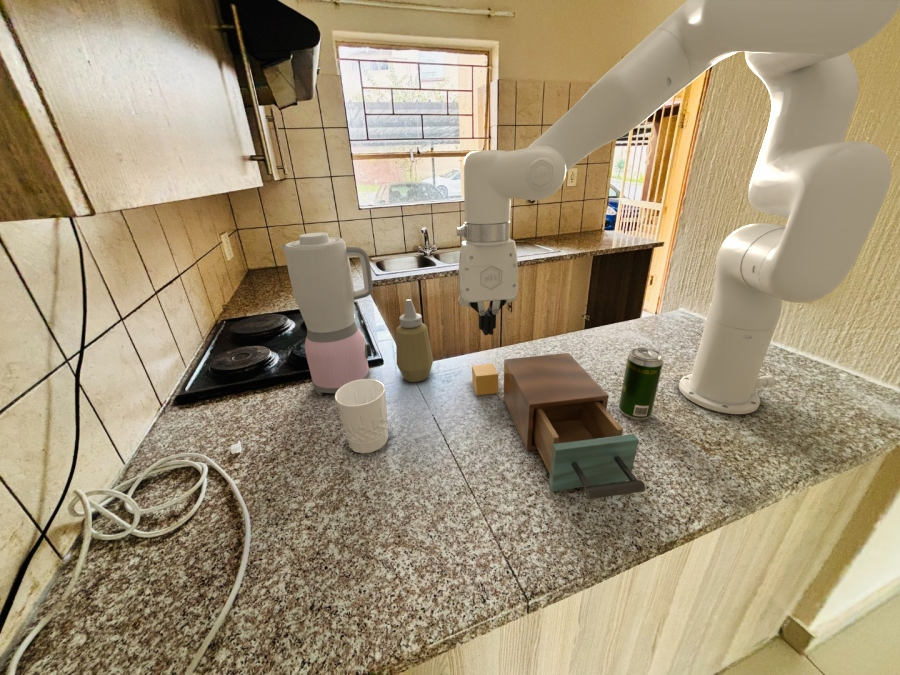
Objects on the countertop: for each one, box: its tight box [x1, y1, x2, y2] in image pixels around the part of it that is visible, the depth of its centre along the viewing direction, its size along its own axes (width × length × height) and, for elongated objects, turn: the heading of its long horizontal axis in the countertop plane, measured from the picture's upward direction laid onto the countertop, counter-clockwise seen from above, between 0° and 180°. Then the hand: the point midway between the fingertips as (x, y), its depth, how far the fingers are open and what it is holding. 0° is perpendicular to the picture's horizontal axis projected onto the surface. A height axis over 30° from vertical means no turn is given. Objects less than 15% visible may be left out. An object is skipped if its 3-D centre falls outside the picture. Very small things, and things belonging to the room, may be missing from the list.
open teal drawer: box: [532, 401, 646, 500], centre depth 52 cm, size 19×11×7 cm, turn 7°
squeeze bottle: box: [395, 298, 434, 383], centre depth 77 cm, size 8×8×18 cm
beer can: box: [618, 346, 664, 421], centre depth 63 cm, size 5×5×12 cm
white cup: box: [334, 378, 389, 455], centre depth 60 cm, size 8×8×10 cm
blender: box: [279, 231, 374, 396], centre depth 73 cm, size 16×12×32 cm
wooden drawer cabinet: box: [502, 352, 609, 452], centre depth 63 cm, size 15×13×9 cm
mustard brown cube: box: [471, 363, 499, 396], centre depth 74 cm, size 4×4×4 cm
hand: (487, 332), depth 68 cm, fingers closed
